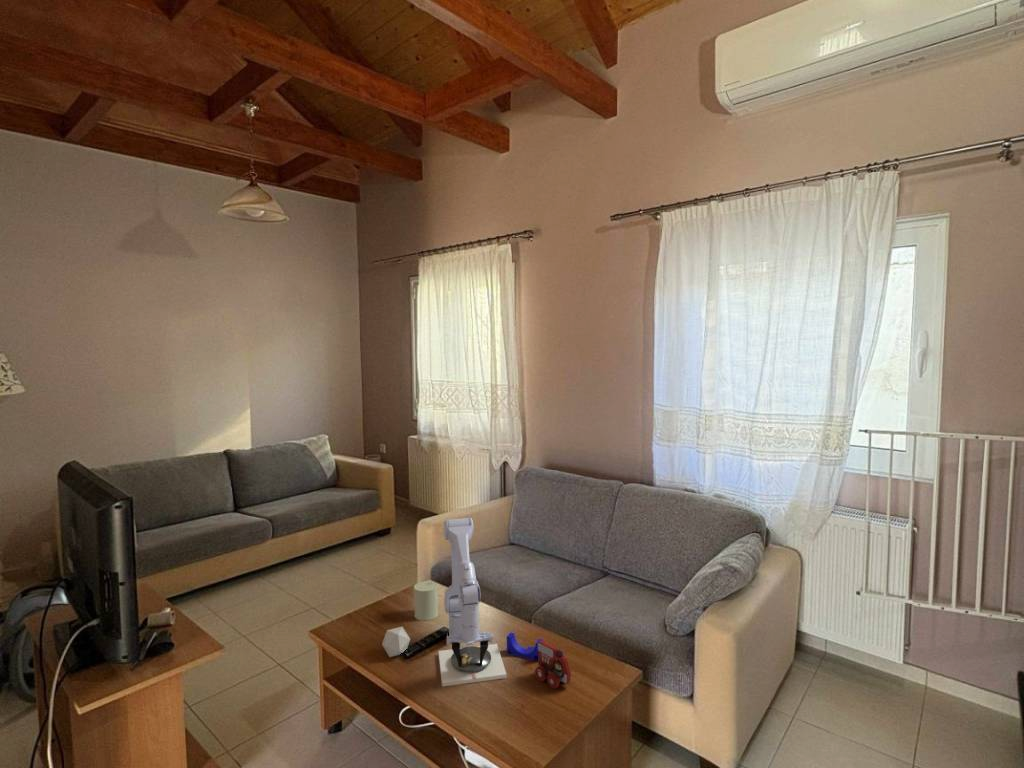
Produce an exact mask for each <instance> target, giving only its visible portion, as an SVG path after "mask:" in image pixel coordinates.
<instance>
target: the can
mask: <svg viewBox="0 0 1024 768" xmlns="http://www.w3.org/2000/svg"><path fill="white" fill-rule="evenodd" d="M413 596H414V599H413V601H414V619H416V620H419V621H431V620H433V619H436V618H437V617H438V615H439V605H438V600H439V599H438V583H437V582H435V581H430V580H426V581H425V580H424V581H421V582H417V583H416V584H414V586H413Z"/></svg>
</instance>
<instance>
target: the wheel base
mask: <svg viewBox="0 0 1024 768" xmlns="http://www.w3.org/2000/svg"><path fill="white" fill-rule="evenodd" d="M475 647H480V645H478V646H477V645H476V646H475ZM461 648H462V647H460V649H461ZM487 650H488V651H489V652H490V654H491V662H490V664H489V665H488V666H487V667H485V668H483V669H481V670H478V671H472V672H466V671H461V670H458V669H456V668H454V667H453V666H452V664H451V656H452V655H453V653H454V652H453V650H452V648H451V649H445V650H438V661H439V670H440V671H439V672H440V678H441V679H440V680H441V686H442V688H443V687H444V688H445V687H451V686H457V685H464V684H473V683H479V682H486V681H494V680H500V679H507V678H508V675H507V672H506V667H505V665H504V662H503V659H502V658H503V657H502V656H501V652H500V649H499V646H498V643H491V644H488V649H487Z"/></svg>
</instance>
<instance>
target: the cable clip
mask: <svg viewBox="0 0 1024 768" xmlns="http://www.w3.org/2000/svg"><path fill="white" fill-rule="evenodd" d="M539 641H544V639H543V638H538V639H537V641H536V642H535V645H534V646H528V647H527V648H525V647H523V646H521V645H520V644H519V642H518V641H517V639H516V636H515V632H509V634H508V635H507V636H506V653H507V654H508V655H512V656H516V657H521V658H525V659H527V660H528V659H529V660H532V661H533V660H534V661H537V662H538V658H539V651H538V642H539Z"/></svg>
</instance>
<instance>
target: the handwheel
mask: <svg viewBox="0 0 1024 768" xmlns="http://www.w3.org/2000/svg"><path fill="white" fill-rule="evenodd" d="M460 648H461V649H460V660H461V667H459V666H458V661H457V658H456V656H455V654H454V653H453V655H452V656H451V664H452V666H453V667H454V668H456V669H458V670H461V671H466V672H472V671H478V670H481V669H483V668H485V667H487V666H488V665H489V664H490V662H491V654H490V652H489V651H488V650H486V652H485V655H484V658H483V662H482V666H480V647H475V646H474V645H470V646H465V647H460Z"/></svg>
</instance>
